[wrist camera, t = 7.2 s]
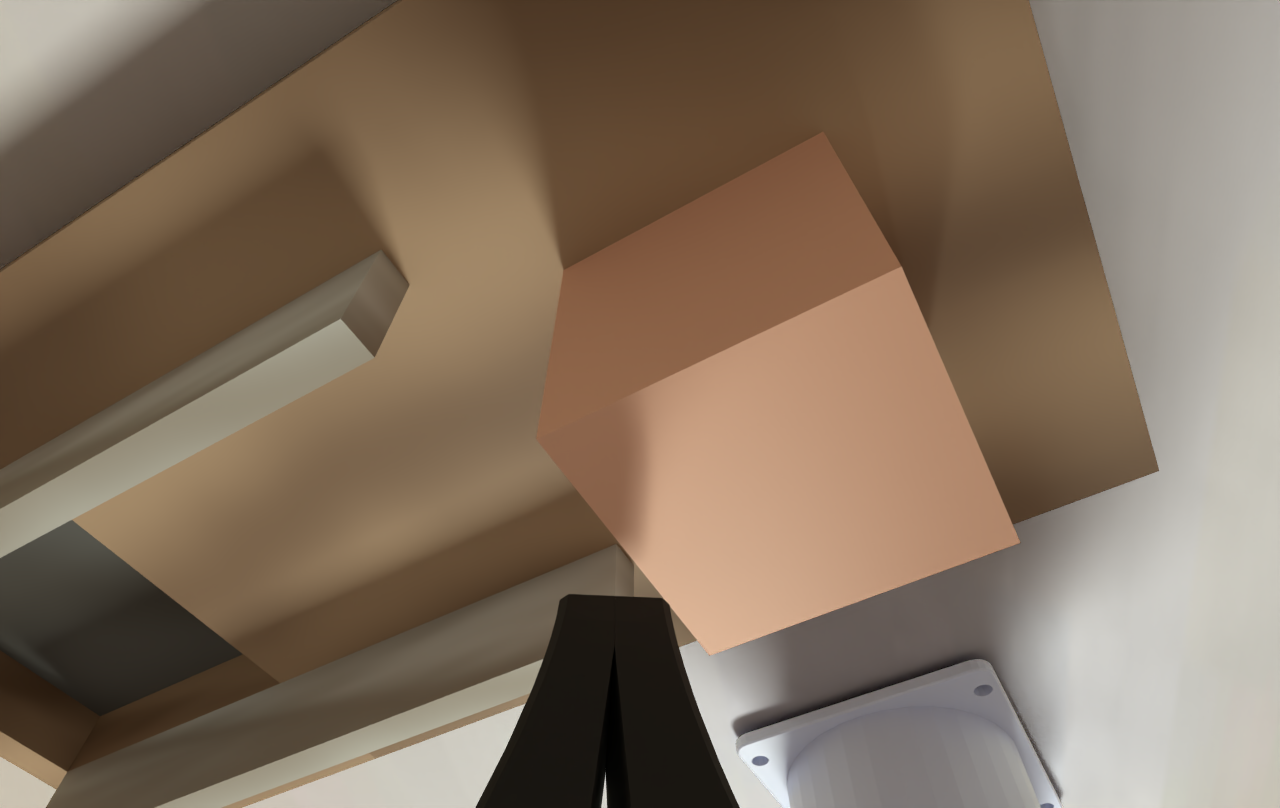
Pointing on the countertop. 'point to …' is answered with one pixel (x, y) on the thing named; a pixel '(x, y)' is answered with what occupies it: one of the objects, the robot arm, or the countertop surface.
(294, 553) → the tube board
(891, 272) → the block
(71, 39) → the countertop surface
